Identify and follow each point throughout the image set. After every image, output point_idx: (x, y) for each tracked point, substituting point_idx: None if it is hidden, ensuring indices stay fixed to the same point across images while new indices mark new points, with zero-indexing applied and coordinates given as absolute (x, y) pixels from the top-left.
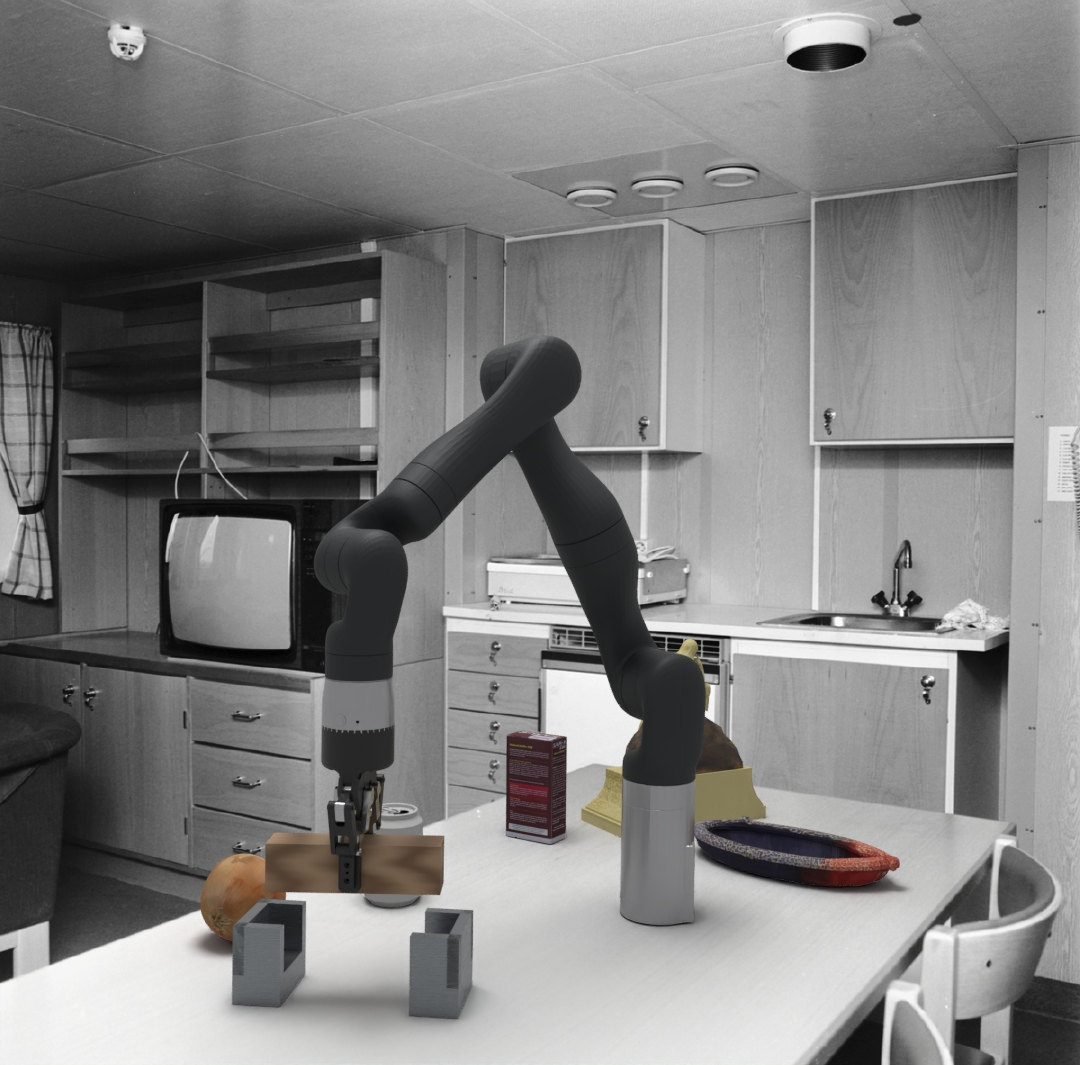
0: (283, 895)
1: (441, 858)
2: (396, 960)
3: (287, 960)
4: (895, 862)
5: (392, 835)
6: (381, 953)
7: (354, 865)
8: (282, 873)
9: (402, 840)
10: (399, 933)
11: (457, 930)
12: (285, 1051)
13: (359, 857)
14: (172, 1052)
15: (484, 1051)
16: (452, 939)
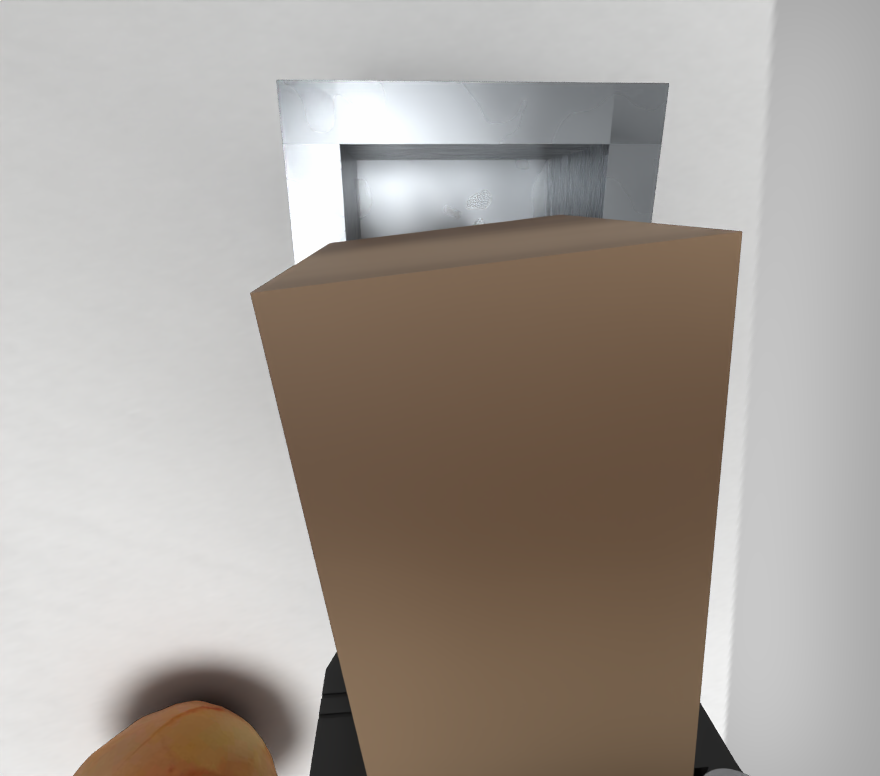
0: (136, 771)
1: (567, 234)
2: (215, 387)
3: None
4: None
5: (390, 757)
6: (181, 437)
7: (713, 738)
8: None
9: (528, 652)
10: (19, 430)
11: (562, 113)
12: (722, 474)
13: (707, 766)
14: (717, 638)
15: (746, 12)
16: (664, 117)
